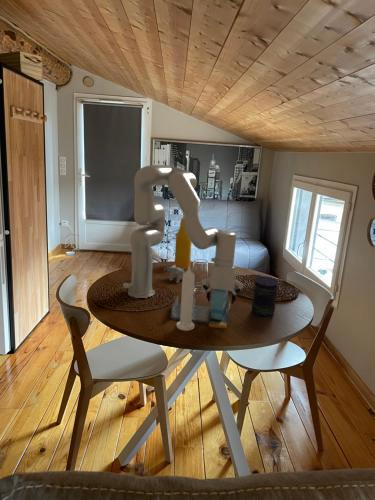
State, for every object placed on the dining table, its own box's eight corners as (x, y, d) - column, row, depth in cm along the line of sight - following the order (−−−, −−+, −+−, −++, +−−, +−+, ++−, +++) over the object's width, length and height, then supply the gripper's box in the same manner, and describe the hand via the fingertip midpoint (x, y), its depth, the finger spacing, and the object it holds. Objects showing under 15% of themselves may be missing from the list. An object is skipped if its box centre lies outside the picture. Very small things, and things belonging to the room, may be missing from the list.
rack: (169, 321, 144) (170, 310, 142) (176, 305, 159) (177, 294, 158) (228, 328, 141) (229, 317, 140) (229, 311, 157) (230, 300, 155)
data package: (220, 322, 144) (223, 294, 141) (209, 319, 145) (212, 292, 142) (226, 310, 155) (228, 284, 152) (216, 308, 156) (218, 282, 153)
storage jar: (255, 306, 163) (259, 275, 159) (276, 312, 159) (281, 280, 154) (247, 314, 155) (251, 281, 151) (269, 320, 150) (274, 287, 146)
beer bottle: (192, 268, 210) (196, 219, 202) (179, 270, 206) (181, 220, 198) (185, 263, 218) (187, 216, 210) (171, 265, 213) (173, 217, 206)
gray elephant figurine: (182, 284, 185) (184, 270, 183) (159, 280, 187) (161, 266, 185) (185, 279, 194) (187, 265, 192) (164, 275, 195) (165, 261, 193)
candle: (176, 322, 144) (179, 262, 137) (193, 322, 144) (197, 263, 138) (176, 330, 137) (180, 268, 130) (195, 331, 138) (199, 269, 131)
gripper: (201, 262, 141) (198, 302, 146) (246, 267, 139) (241, 307, 144) (203, 257, 149) (200, 295, 153) (245, 261, 146) (241, 300, 151)
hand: (220, 301), depth 148 cm, fingers open, 9 cm apart
